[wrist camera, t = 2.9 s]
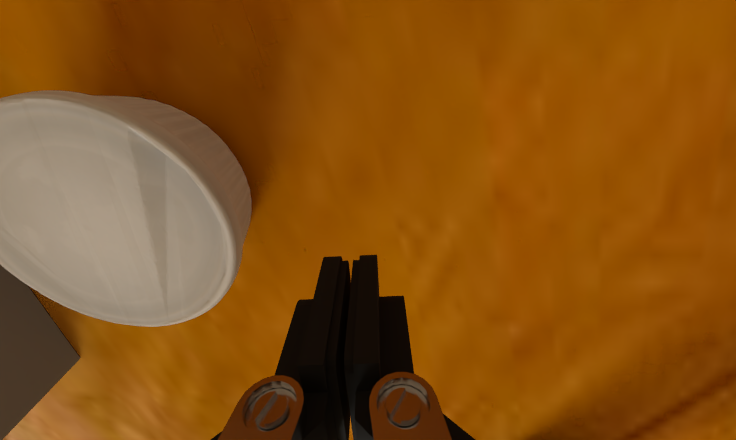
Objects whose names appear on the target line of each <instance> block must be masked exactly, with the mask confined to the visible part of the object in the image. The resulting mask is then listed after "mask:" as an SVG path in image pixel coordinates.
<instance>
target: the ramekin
mask: <svg viewBox="0 0 736 440" xmlns="http://www.w3.org/2000/svg"><path fill="white" fill-rule="evenodd" d="M251 204H252V199H251V195H250V188H249V186H248V182H247V178H246V176H245V174H244V172H243V169H242V167H241V166H240V164H239V163H238V161H237V159H236V157H235V156H234V154H233V153H232V152H231V150H230V149H229V147H228V146H227V145H226V144H225V143H224V142H223V141H222V139H221V138H220V137H219V136H218V135H217V134H216V133H214V132H213V131H212V130H211V129H210V128H209V127H208V126H207V125H205V124H203V123H202V122H201V121H199V120H198V119H197V118H195V117H193V116H191V115H189V114H187V113H186V112H184V111H182V110H179V109H177V108H175V107H173V106H171V105H168V104H163V103H161V102H158V101H156V100H147V99H143V98H139V97H127V96H95V95H88V94H84V93H77V92H70V91H58V90H48V91H34V92H27V93H22V94H17V95H12V96H8V97H3V98H0V265H1V266H2V267H4V268H5V269H6V270H8V271H9V272H10V273H11V274H13V275H14V276H15V277H17V278H18V279H19V280H21V281H22V282H24V283H25V284H27V285H28V286H30V287H31V288H33V289H35V290H37V291H38V292H39V293H41V294H42V295H44V296H46V297H48V298H50V299H51V300H53V301H55V302H57V303H59V304H61V305H63V306H65V307H68V308H70V309H72V310H75V311H77V312H79V313H82V314H85V315H88V316H91V317H94V318H97V319H101V320H105V321H109V322H113V323H119V324H125V325H134V326H150V327H157V326H166V325H172V324H177V323H181V322H185V321H187V320H191V319H193V318H196V317H198V316H200V315H202V314H203V313H205V312H207V311H208V310H210V309H211V308H212V307H214V306H215V305H216V304H217V303H218V302H219V301H220V300H221V299H222V298H223V296H224V295H225V294H226V293H227V291H228V290H229V288H230V287H231V285H232V283H233V281H234V279H235V277H236V275H237V273H238V270H239V267H240V263H241V258H242V246H243V243H244V240H245V237H246V234H247V231H248V228H249V225H250V218H251V213H252V209H251Z"/></svg>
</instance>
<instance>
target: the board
mask: <svg viewBox="0 0 736 440" xmlns="http://www.w3.org/2000/svg"><path fill="white" fill-rule="evenodd" d="M79 359H80V357H79V356H78V355H77V353H76V352H75V350H74V349H73V348H72V346H71V345H70V343H69V342H68V341H67V339H66V338H65V337H64V335H63V334H62V332H61V331H60V330H59V328H58V327H57V325H56V324H55V323H54V321H53V320H52V319H51V317H50V316H49V314H48V313H47V312H46V310H45V309H44V307H43V306H42V305H41V303H40V302H39V301H38V299H37V298H36V296H35V295H34V294H33V292H32V291H31V289H30V288H29V287H28V285H27V284H25V283H24V282H22V281H21V280H19V279H18V278H17V277H15V276H14V275H13V274H11V273H10V272H9V271H8V270H6V269H5V268H4V267H2V266H1V265H0V440H2V439H3V438H4V437H5V436H6V435H7V434H8V433H9V432H10V431H11V430H12V429H13V428H14V427H15V426H16V425H17V424H18V423H19V422H20V421H21V420H22V419H23V417H24V416H25V415H26V414H27V413H28V412H29V411H30V410H31V409H32V408H33V407H34V406H35V405H36V404H37V403H38V402H39V401H40V400H41V399H42V398H43V397H44V396H45V395H46V394H47V392H48V391H49V390H50V389H51V388H52V387H53V386H54V385H55V384H56V383H57V382H58V381H59V380H60V379H61V378H62V377H63V376H64V375H65V374H66V373H67V372H68V371H69V370H70V369H71V367H72V366H73V365H74V364H75V363H76V362H77V361H78V360H79Z"/></svg>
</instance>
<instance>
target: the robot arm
mask: <svg viewBox="0 0 736 440" xmlns="http://www.w3.org/2000/svg"><path fill="white" fill-rule="evenodd" d="M350 416H351V424H352V431H353V438H354V440H475V439H474V438H473V437H471V436H470V435H469V434H468V433H466V432H465V431H464V430H463V429H461V428H460V427H459V426H458V425H456V424H455V423H454V422H453V421H451V420H450V419H449V418H448V417H446V416H445V415H444V414H443V413H442V410H441V407H440V405H439V402H438V399H437V396H436V394H435V392H434V390H433V388H432V387H431V386H430V385H429V384H428V383H427V382H426V381H425V380H424V379H423V378H421V377H419V376H418V375H416V374H414V371H413V363H412V355H411V348H410V340H409V332H408V325H407V317H406V309H405V302H404V296H387V297H379V283H378V264H377V255H362V256H360V259H359V260H353V267H352V278H351V280H350V271H349V262H348V261H342V257H341V256H338V257H324V258H323V262H322V266H321V270H320V274H319V278H318V282H317V286H316V290H315V294H314V298H313V299H308V300H299V301H298V302H297V305H296V308H295V311H294V314H293V318H292V321H291V324H290V327H289V331H288V334H287V337H286V340H285V344H284V347H283V350H282V353H281V356H280V360H279V363H278V366H277V369H276V373H275V376H271V377H267V378H264V379H262V380H260V381H258V382H257V383H255V384H253V385H252V386H251V387H250V388H249V389H248V390H247V391H246V392H245V393H244V394H243V396H242V397H241V399H240V400H239V402H238V403H237V405H236V407H235V409H234V411H233V413H232V415H231V416H230V418H229V420H228V422H227V424H226V426H225V427H224V429H223V431H222V432H220V433H219V434H218V435H216V436H215V437H214V438H212V439H211V440H349V427H350Z"/></svg>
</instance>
